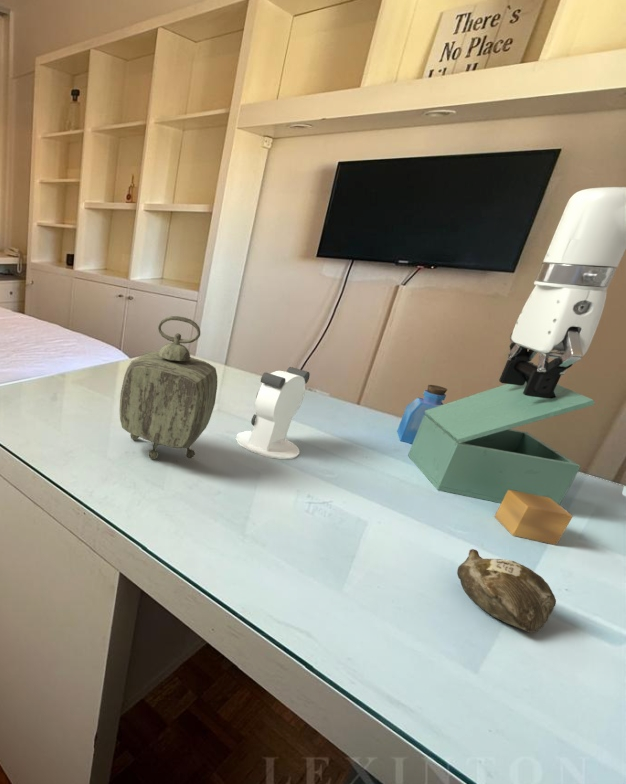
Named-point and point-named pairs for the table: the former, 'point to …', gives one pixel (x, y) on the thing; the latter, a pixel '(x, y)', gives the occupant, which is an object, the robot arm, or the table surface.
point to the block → (533, 517)
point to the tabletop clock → (168, 395)
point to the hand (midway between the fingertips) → (523, 388)
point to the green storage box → (491, 464)
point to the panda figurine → (275, 414)
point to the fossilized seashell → (507, 591)
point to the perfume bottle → (419, 412)
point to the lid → (503, 408)
